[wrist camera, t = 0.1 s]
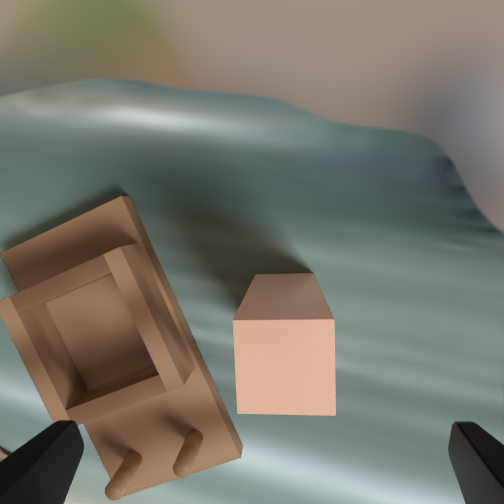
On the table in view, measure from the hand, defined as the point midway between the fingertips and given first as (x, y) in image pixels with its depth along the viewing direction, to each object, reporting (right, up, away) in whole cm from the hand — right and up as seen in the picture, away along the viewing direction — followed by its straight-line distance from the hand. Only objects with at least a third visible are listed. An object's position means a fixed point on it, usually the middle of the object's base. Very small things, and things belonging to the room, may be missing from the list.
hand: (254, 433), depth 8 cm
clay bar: (+2, +1, +15) cm, 16 cm away
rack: (-9, -3, +17) cm, 19 cm away
